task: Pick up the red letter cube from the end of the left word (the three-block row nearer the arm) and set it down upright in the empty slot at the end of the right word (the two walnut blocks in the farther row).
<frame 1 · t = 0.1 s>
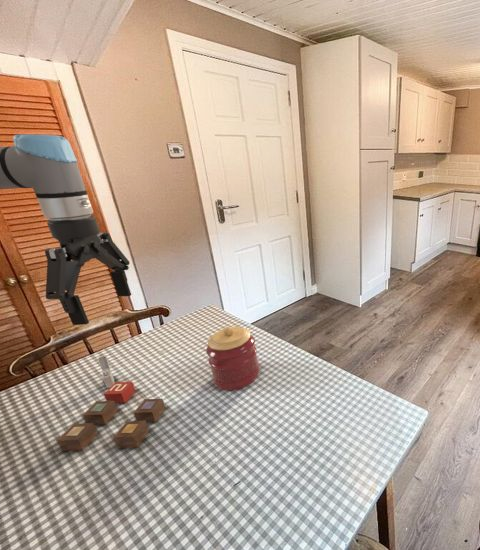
hand: (105, 308, 70), 30 cm above the table, tool pointing down, fingers open, 13 cm apart
lighter: (111, 383, 90), on the table
right word block 1: (134, 441, 72), on the table
right word block 2: (152, 417, 78), on the table
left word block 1: (81, 443, 71), on the table
left word block 2: (103, 419, 77), on the table
kitchen canister: (237, 377, 92), on the table
red letter cube: (122, 398, 84), on the table
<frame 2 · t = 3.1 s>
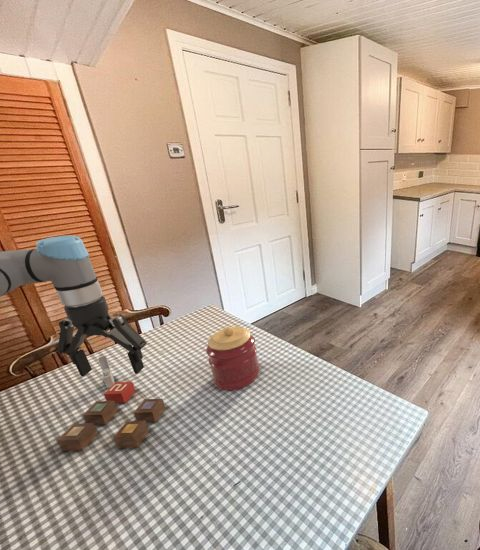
hand: (113, 371, 80), 9 cm above the table, tool pointing down, fingers open, 13 cm apart
nothing on the table moved.
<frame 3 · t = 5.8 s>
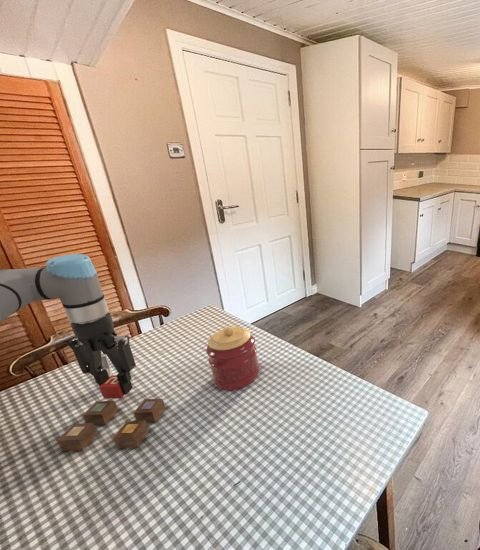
hand: (118, 391, 83), 3 cm above the table, tool pointing down, fingers closed on red letter cube, 4 cm apart
red letter cube: (118, 392, 83), point 2 cm above the table, touching gripper
everything else where it was.
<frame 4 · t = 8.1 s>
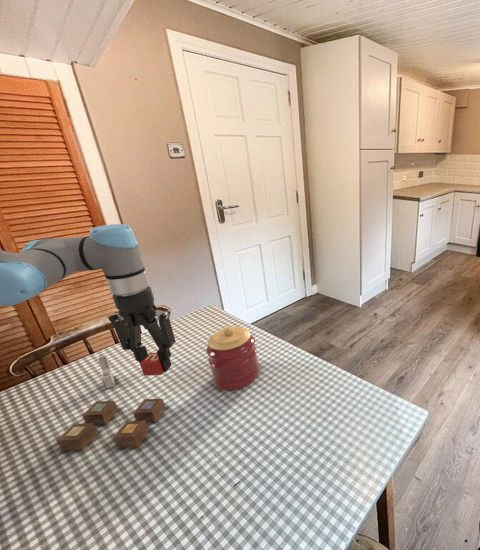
hand: (157, 368, 81), 10 cm above the table, tool pointing down, fingers closed on red letter cube, 4 cm apart
red letter cube: (157, 369, 81), point 9 cm above the table, touching gripper
everything else where it was.
when the fingers open (0 cm above the table, at t = 10.5 s): red letter cube stays where it is, on the table.
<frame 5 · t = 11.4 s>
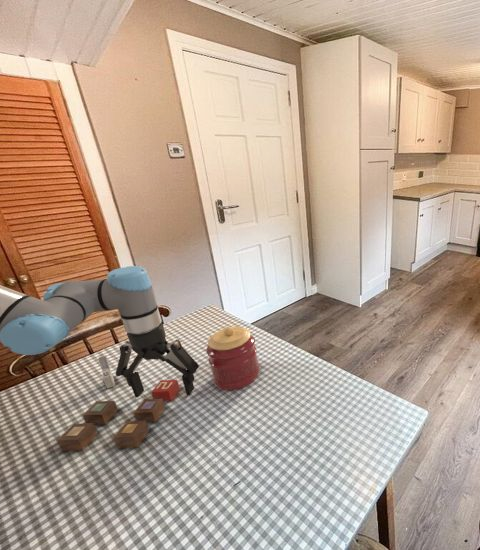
hand: (165, 393, 84), 1 cm above the table, tool pointing down, fingers open, 13 cm apart
red letter cube: (168, 396, 85), on the table
everything else where it was.
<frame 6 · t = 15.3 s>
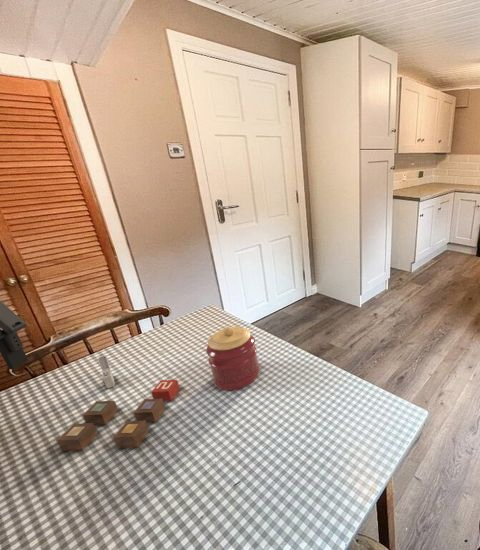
nothing on the table moved.
at the end: red letter cube 0.2 cm from the target spot, on the table; red letter cube tilted 0°; the gripper is holding nothing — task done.
